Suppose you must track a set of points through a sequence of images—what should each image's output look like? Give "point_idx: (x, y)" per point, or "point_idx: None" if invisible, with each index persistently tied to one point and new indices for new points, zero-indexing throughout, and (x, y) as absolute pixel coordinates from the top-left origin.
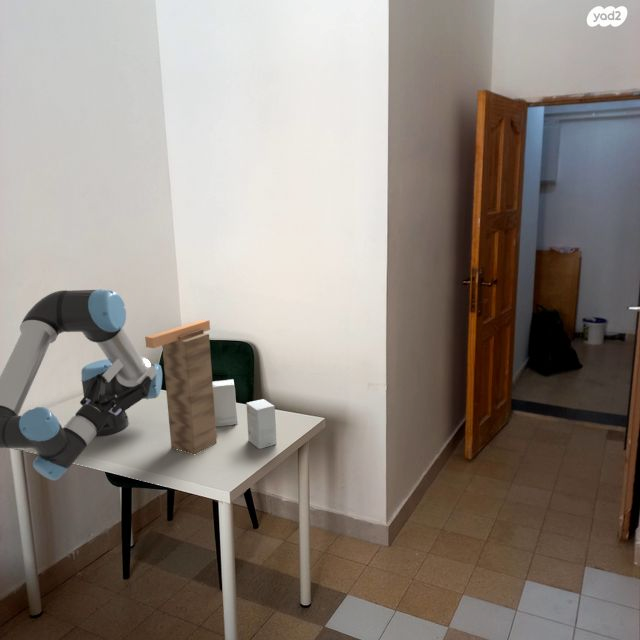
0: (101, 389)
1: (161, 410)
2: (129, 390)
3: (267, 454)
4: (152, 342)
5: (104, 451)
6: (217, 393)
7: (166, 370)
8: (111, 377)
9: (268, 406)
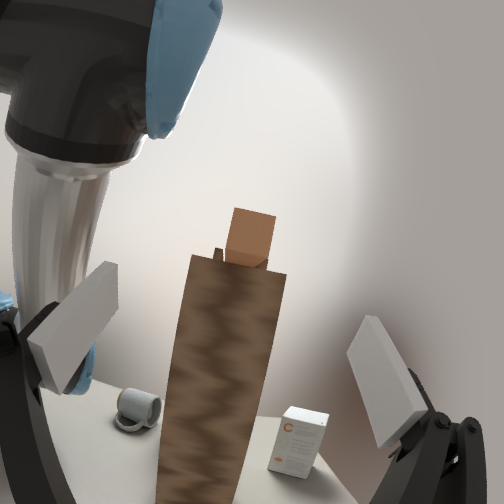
0: (56, 487)
1: (62, 399)
2: (431, 474)
3: (330, 483)
4: (269, 233)
5: (11, 499)
6: None
7: (180, 351)
8: (73, 364)
9: (325, 416)
